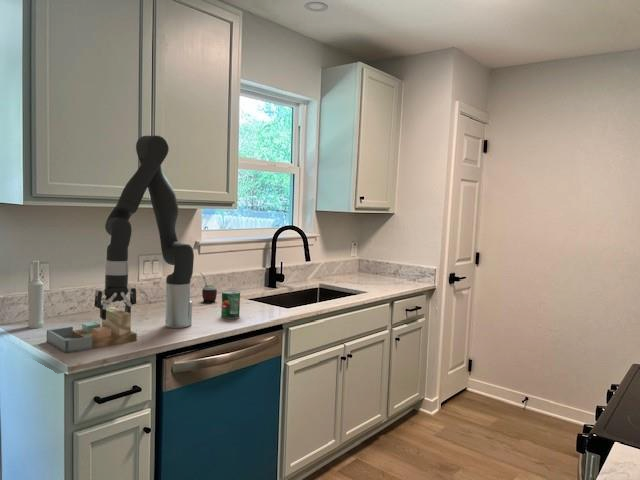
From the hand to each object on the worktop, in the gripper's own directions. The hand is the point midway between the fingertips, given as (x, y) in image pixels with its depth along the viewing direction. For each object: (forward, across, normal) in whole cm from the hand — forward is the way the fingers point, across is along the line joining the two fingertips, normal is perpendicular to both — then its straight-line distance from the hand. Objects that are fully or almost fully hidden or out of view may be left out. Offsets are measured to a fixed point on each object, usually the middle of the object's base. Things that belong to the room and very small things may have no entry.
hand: (115, 317), depth 177 cm
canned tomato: (+6, -52, -1) cm, 52 cm away
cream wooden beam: (+5, 0, 0) cm, 5 cm away
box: (+7, +16, 0) cm, 17 cm away
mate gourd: (+6, -62, -32) cm, 70 cm away
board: (+7, +4, 0) cm, 8 cm away
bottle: (+8, +16, -32) cm, 36 cm away
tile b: (+5, +6, +4) cm, 9 cm away
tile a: (+5, +6, -5) cm, 9 cm away
